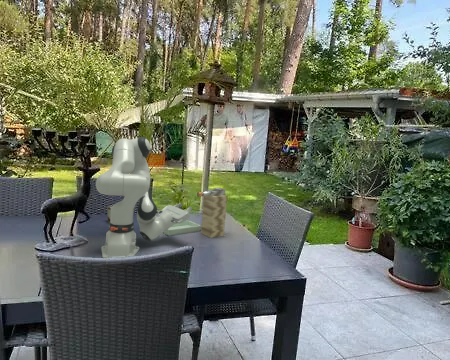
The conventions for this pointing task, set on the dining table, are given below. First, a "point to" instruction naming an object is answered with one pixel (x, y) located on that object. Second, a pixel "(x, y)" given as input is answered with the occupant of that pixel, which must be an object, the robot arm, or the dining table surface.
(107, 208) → the food container
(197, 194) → the stop pin
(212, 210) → the pin post
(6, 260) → the dining table surface
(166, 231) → the pin tray
